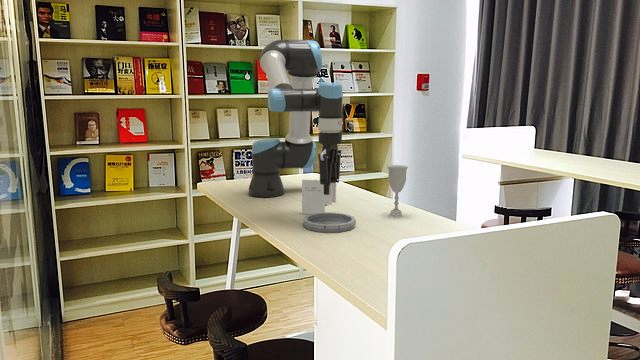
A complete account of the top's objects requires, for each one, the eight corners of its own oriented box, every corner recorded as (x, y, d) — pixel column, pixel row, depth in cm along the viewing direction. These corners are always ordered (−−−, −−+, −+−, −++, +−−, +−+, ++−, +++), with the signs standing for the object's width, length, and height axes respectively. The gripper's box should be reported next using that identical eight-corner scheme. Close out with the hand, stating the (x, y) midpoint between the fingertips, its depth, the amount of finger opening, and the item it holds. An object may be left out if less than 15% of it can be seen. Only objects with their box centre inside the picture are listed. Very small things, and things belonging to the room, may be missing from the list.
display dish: (294, 228, 172) (294, 221, 172) (317, 217, 187) (317, 210, 187) (342, 235, 165) (343, 227, 165) (362, 222, 180) (362, 215, 180)
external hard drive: (302, 212, 194) (302, 179, 191) (324, 213, 193) (325, 179, 190) (301, 213, 192) (301, 180, 190) (324, 214, 191) (324, 180, 189)
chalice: (407, 215, 191) (409, 165, 188) (404, 219, 185) (406, 168, 181) (387, 213, 193) (389, 164, 190) (383, 217, 187) (385, 167, 184)
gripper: (330, 133, 162) (330, 209, 166) (350, 130, 176) (349, 199, 180) (308, 132, 165) (308, 206, 169) (329, 129, 179) (329, 197, 183)
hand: (329, 202), depth 175 cm, fingers open, 3 cm apart
